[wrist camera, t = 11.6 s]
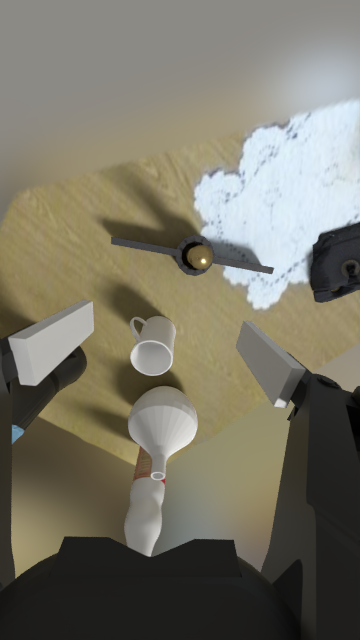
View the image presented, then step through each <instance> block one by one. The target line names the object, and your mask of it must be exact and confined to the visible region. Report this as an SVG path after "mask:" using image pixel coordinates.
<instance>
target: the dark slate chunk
mask: <svg viewBox="0 0 360 640" xmlns="http://www.w3.org/2000/svg"><path fill="white" fill-rule="evenodd" d="M310 275H311V287H313V291H314V295H315V299H316V300H315V301H316V302H320V303H323V302H328V301H331V300H334V299H336V298H340V297H342V296H344V295H347V294H350V293H352V292H355V291H356V290H360V223H358V224H354V225H351V226H349V227H345V228H342V229H338V230H335V231H331V232H328V233H325V234H321V235H320V236H319V241H318V242H317V243H316V244H314V245H313V263H312V266H311V274H310ZM339 286H340V287H341V288H340V289H339V290H338V291H336V292H332V291H331V290H335V289H336V288H337V287H339Z"/></svg>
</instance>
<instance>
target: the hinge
mask: <svg viewBox="0 0 360 640" xmlns="http://www.w3.org/2000/svg"><path fill="white" fill-rule="evenodd" d="M190 243H197V244H199V245H205V246H207V247H209V248H210V250H211V251H212V254H213V259H212V262H211V264H210V265H209V266H208V267H207V268H205V269H197V268H189V267H187V266H186V265H185V264H184V263H183V261H182V258H181V255H182V250H183V249H184V247H185V246H186V245H188V244H190ZM111 244H114V245H119V246H125V247H130V248H135V249H141V250H146V251H151V252H157V253H162V254H167V255H172V256H176V260H177V263H178V266H179V268H180V269H181V270H182V271H183V272H184V273H186V274H188V275H193V276H197V275H200V274H203V273H205V272H206V271H207V270H208V269H209V267H210V266H211V265H212V263H215V264H220V265H226V266H231V267H236V268H242V269H247V270H252V271H257V272H263V273H268V274H272V273H273V270H274V268H272V267H267V266H262V265H256V264H251V263H246V262H241V261H236V260H230V259H225V258H220V257H215V256H214V252H213V248H212V244H211V243H210V242H209V241H208V240H207V239H206V238H205V237H203V236H198V235H192V236H189V237H187V238H184V239H183V241H182V242H181V243H180V245H179V246H178V247H177V249H173V248H168V247H162V246H157V245H152V244H147V243H141V242H136V241H131V240H126V239H120V238H115V237H111Z"/></svg>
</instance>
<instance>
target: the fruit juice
mask: <svg viewBox="0 0 360 640" xmlns="http://www.w3.org/2000/svg"><path fill="white" fill-rule="evenodd" d="M151 469H152V457H151V456H150V454H149V453H148V452H147V451H146V450H144V449H143V448H142V447H141V446H140V449H139V454H138V459H137V464H136V469H135V473H134V479H133V483H132V488H131V495H130V502H131V503H130V508H129V511H128V513H127V516H126V520H125V528H124V529H125V536H126V541H127V547H129V548H131V549H134V550H136V551H138V552H140V553H142V554H144V555H146V556H149V557H150V556H151V553H152V550H153V546H154V544H155V542H156V540H157V538H158V536H159V534H160V531H161V525H162V515H161V505H162V503H163V498H164V490H165V478H164V479H162V480H154V479H152V478H151ZM165 474H166V471H165Z"/></svg>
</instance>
